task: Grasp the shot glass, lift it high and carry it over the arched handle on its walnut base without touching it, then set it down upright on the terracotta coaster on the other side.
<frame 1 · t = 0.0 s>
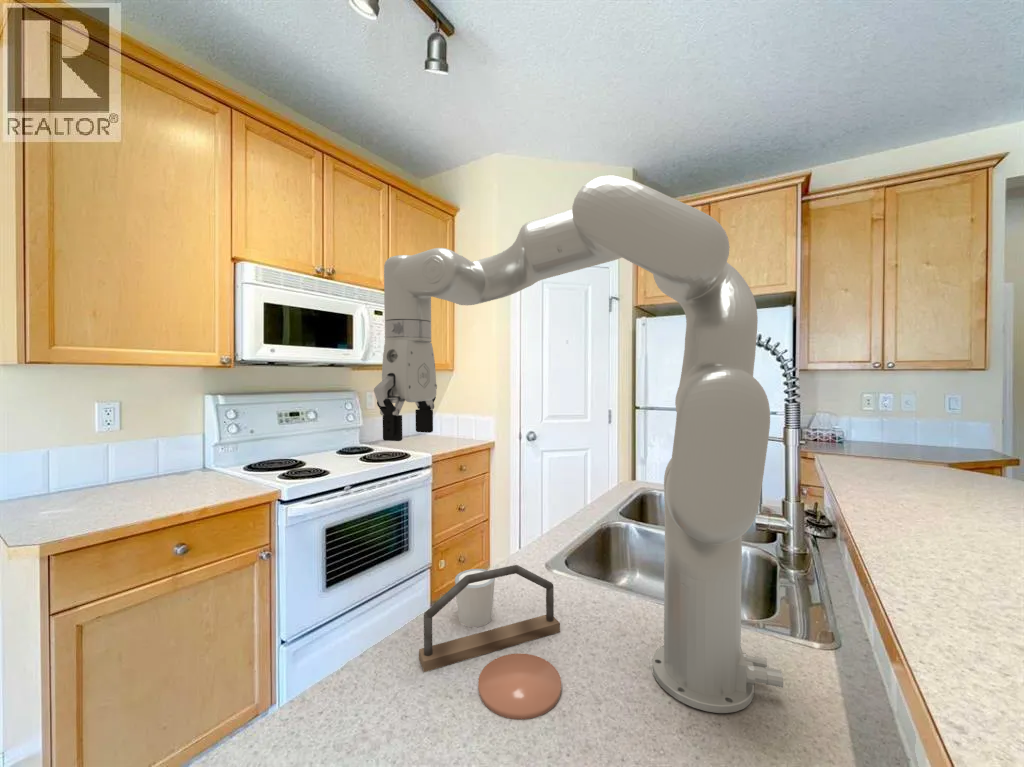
hand: (409, 436, 72), 31 cm above the countertop, tool pointing down, fingers open, 9 cm apart
coaster: (519, 686, 58), on the countertop
arched handle: (492, 644, 66), on the countertop
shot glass: (475, 618, 74), on the countertop
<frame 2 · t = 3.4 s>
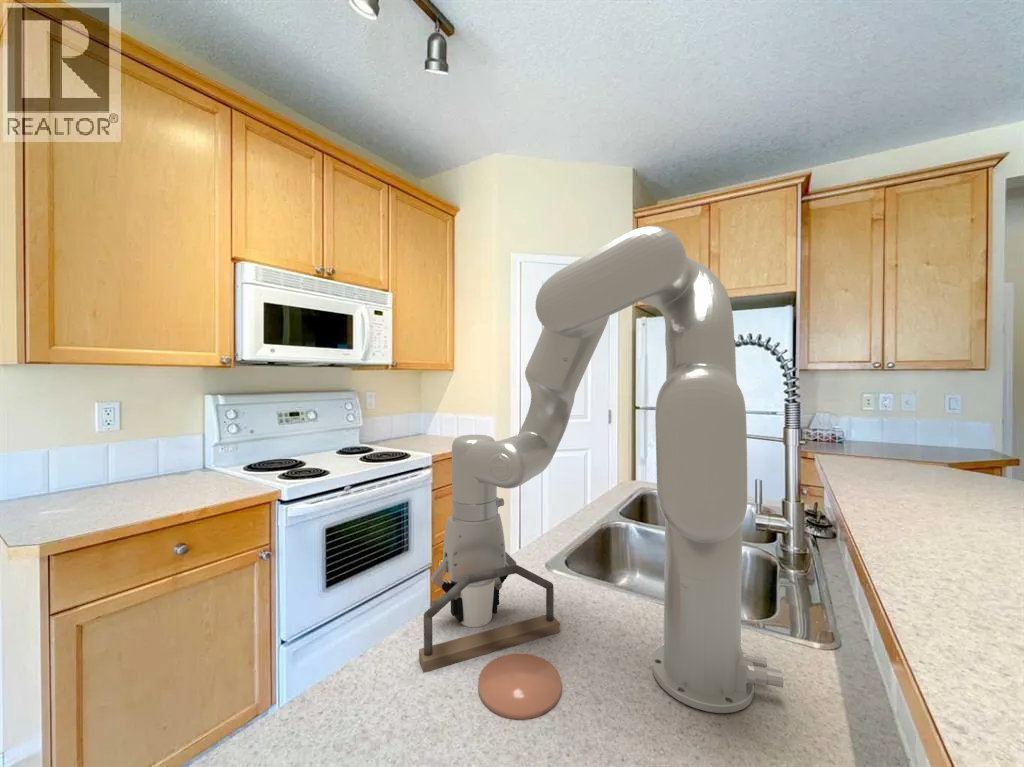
hand: (475, 612, 74), 1 cm above the countertop, tool pointing down, fingers closed on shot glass, 5 cm apart
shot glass: (475, 618, 74), on the countertop, touching gripper
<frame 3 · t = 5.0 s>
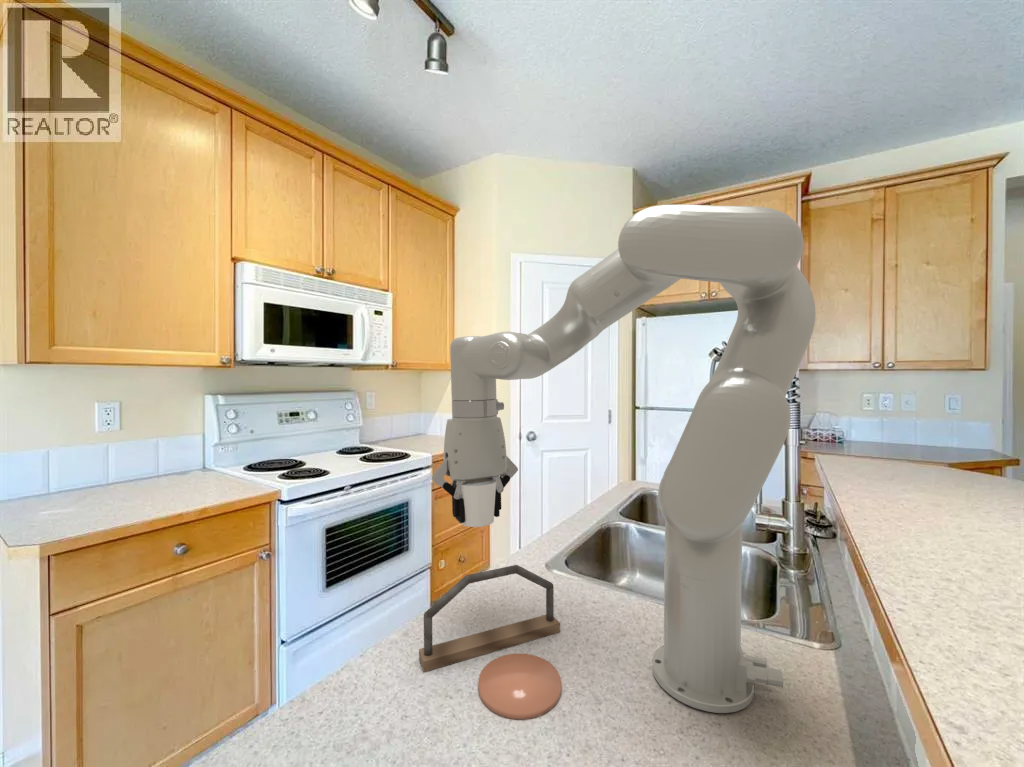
hand: (477, 516, 73), 17 cm above the countertop, tool pointing down, fingers closed on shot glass, 5 cm apart
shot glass: (477, 522, 73), point 16 cm above the countertop, touching gripper
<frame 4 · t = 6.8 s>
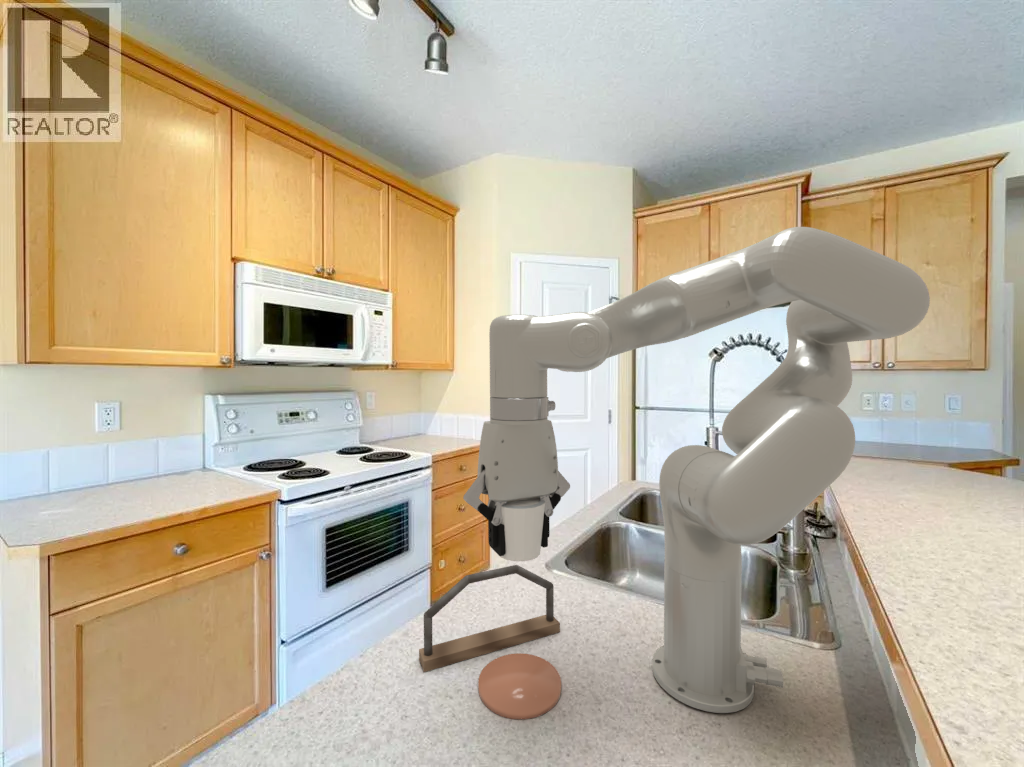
hand: (519, 546, 57), 19 cm above the countertop, tool pointing down, fingers closed on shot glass, 5 cm apart
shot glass: (518, 553, 57), point 18 cm above the countertop, touching gripper
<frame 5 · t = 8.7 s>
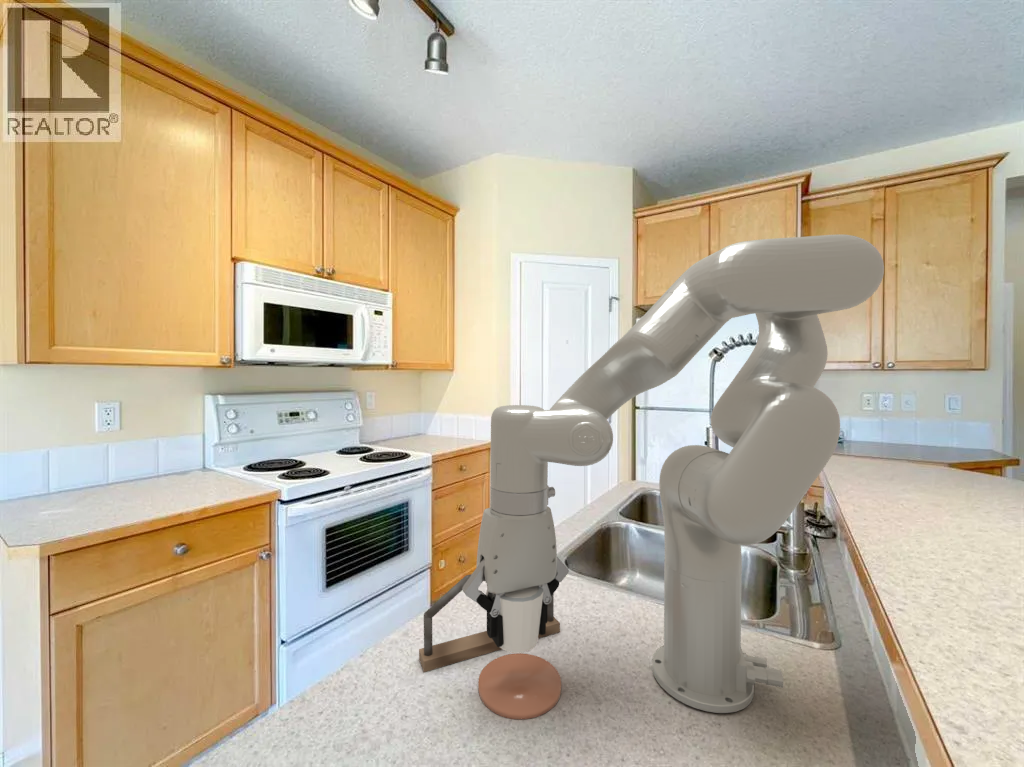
hand: (517, 633, 57), 7 cm above the countertop, tool pointing down, fingers closed on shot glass, 5 cm apart
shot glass: (516, 640, 57), point 6 cm above the countertop, touching gripper
when the fingers open (2 cm above the countertop, at t = 10.2 s): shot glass stays where it is, resting on coaster.
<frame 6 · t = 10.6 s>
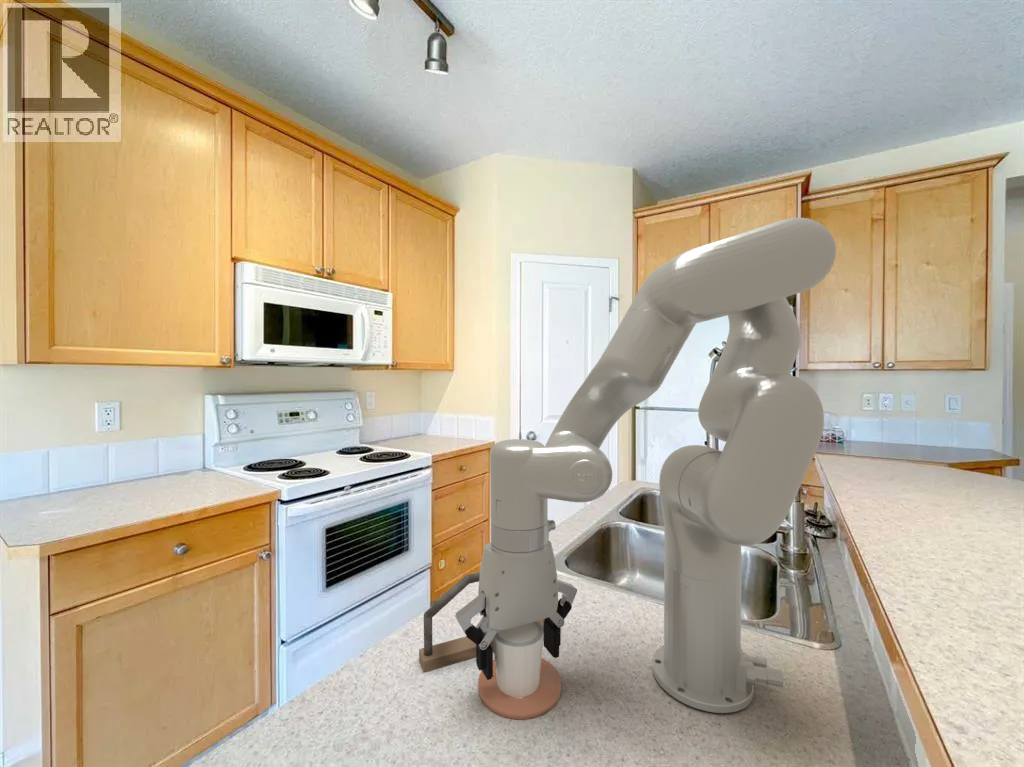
hand: (519, 661, 57), 3 cm above the countertop, tool pointing down, fingers open, 9 cm apart
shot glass: (518, 682, 57), point 1 cm above the countertop, touching coaster
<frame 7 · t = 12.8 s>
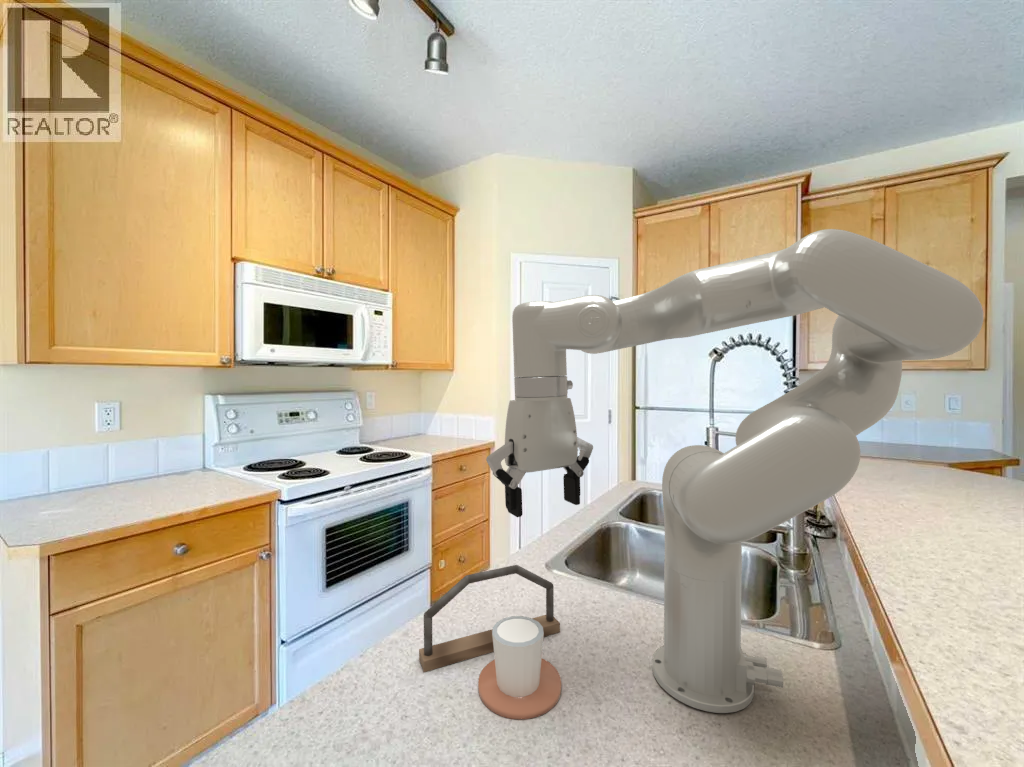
hand: (544, 508, 62), 22 cm above the countertop, tool pointing down, fingers open, 9 cm apart
nothing on the countertop moved.
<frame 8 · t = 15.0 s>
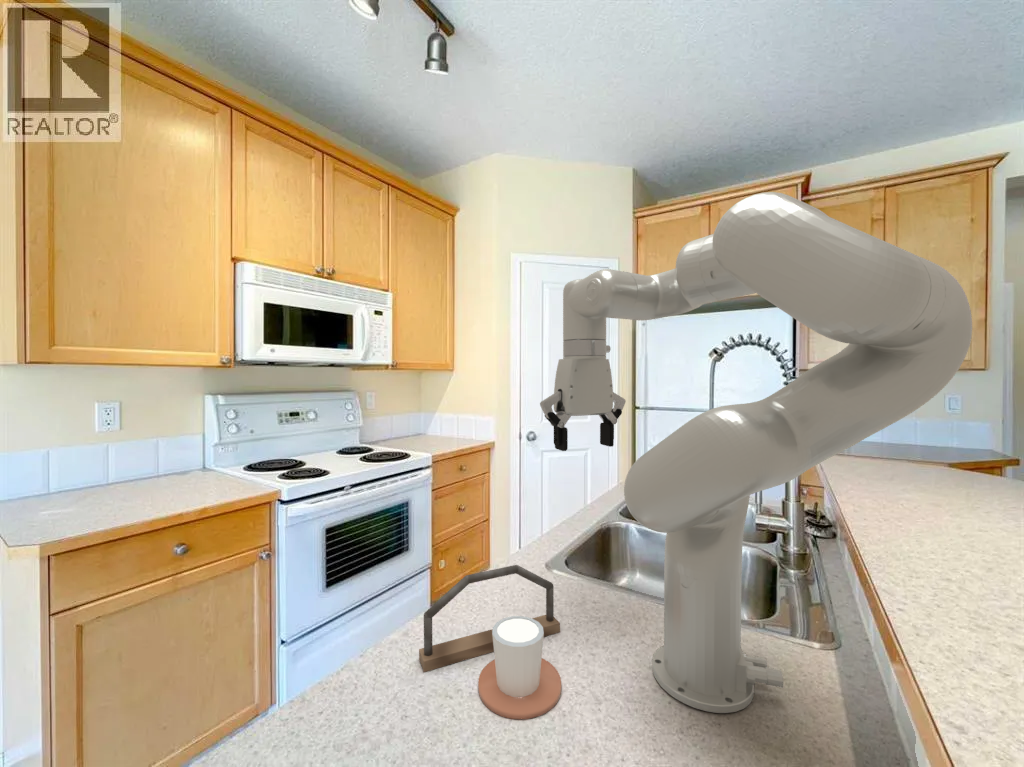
hand: (584, 447, 77), 28 cm above the countertop, tool pointing down, fingers open, 9 cm apart
nothing on the countertop moved.
at the end: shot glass 0.3 cm off-centre on the coaster, point 0.6 cm above the coaster's base; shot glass tilted 0°; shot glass touching coaster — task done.
